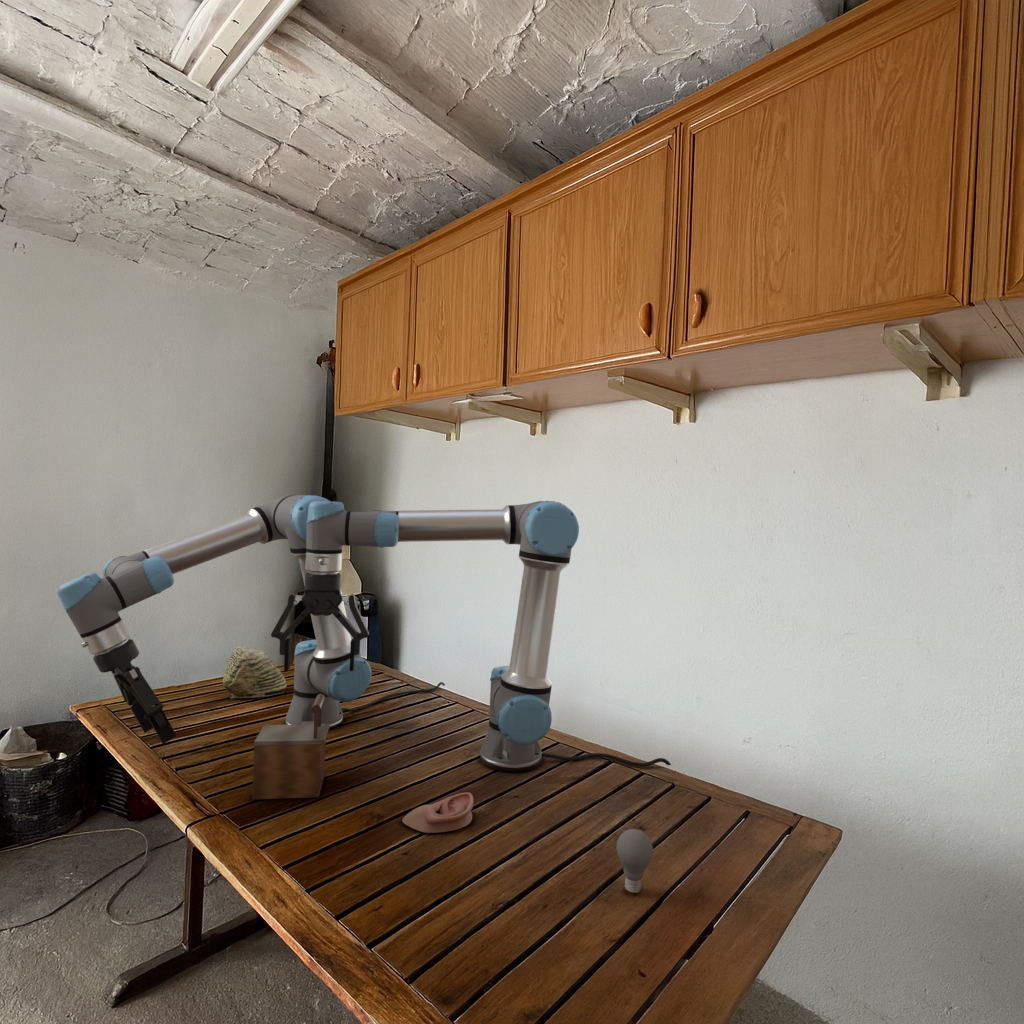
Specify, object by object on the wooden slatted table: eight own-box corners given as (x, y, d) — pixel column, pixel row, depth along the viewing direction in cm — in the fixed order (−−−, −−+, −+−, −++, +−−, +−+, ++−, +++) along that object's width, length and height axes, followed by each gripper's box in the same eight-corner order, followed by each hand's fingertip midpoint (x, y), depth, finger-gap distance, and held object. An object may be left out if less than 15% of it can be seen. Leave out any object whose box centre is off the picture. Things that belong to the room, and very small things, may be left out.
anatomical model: (396, 808, 122) (417, 782, 133) (395, 828, 122) (416, 801, 133) (463, 818, 119) (478, 791, 130) (462, 839, 119) (477, 810, 131)
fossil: (218, 695, 195) (220, 647, 195) (278, 685, 208) (279, 640, 207) (228, 703, 189) (230, 653, 188) (289, 692, 201) (290, 645, 201)
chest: (324, 777, 143) (326, 727, 143) (318, 797, 134) (320, 744, 133) (262, 779, 141) (264, 728, 141) (251, 799, 131) (254, 746, 131)
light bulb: (610, 879, 108) (613, 822, 108) (644, 879, 109) (647, 822, 109) (619, 902, 102) (622, 840, 102) (655, 901, 103) (658, 840, 103)
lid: (329, 727, 143) (331, 692, 143) (324, 744, 133) (326, 706, 133) (264, 728, 141) (265, 692, 140) (254, 745, 131) (255, 707, 131)
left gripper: (79, 652, 136) (126, 735, 140) (106, 662, 118) (158, 757, 122) (116, 633, 141) (160, 714, 145) (147, 640, 123) (196, 732, 127)
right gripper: (258, 573, 131) (255, 674, 132) (381, 575, 136) (377, 674, 136) (266, 568, 139) (262, 665, 139) (382, 571, 143) (378, 664, 143)
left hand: (159, 734), depth 134 cm, fingers open, 13 cm apart
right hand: (319, 669), depth 138 cm, fingers open, 13 cm apart
